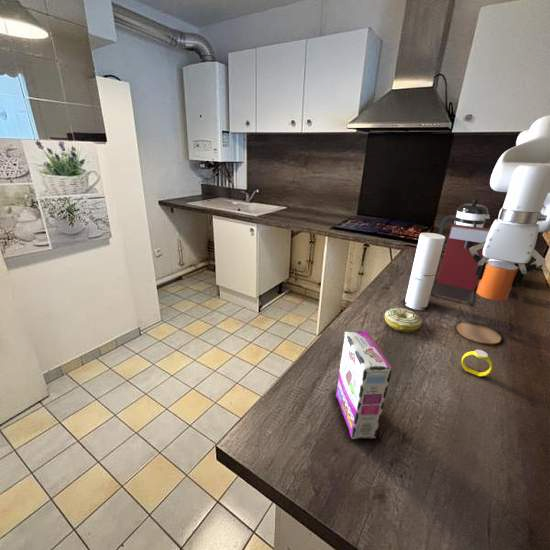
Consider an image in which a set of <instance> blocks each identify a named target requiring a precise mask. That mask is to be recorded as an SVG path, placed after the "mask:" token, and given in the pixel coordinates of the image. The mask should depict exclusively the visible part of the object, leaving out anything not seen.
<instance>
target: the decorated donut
mask: <svg viewBox="0 0 550 550" xmlns="http://www.w3.org/2000/svg"><path fill="white" fill-rule="evenodd" d="M384 320H385V323H386V325H388V326H389V327H390V328H392V329H393V330H396V331H397V332H402V333H413V332H416V331H417V330H418V329H420V328H421V326H422V324H423V320H422V318H421V317H420V315H418V314H417V313H415V312H414V311H412V310H410V309H407V308H404V307H395V308H390V309H388V310H386V311H385V313H384Z"/></svg>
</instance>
